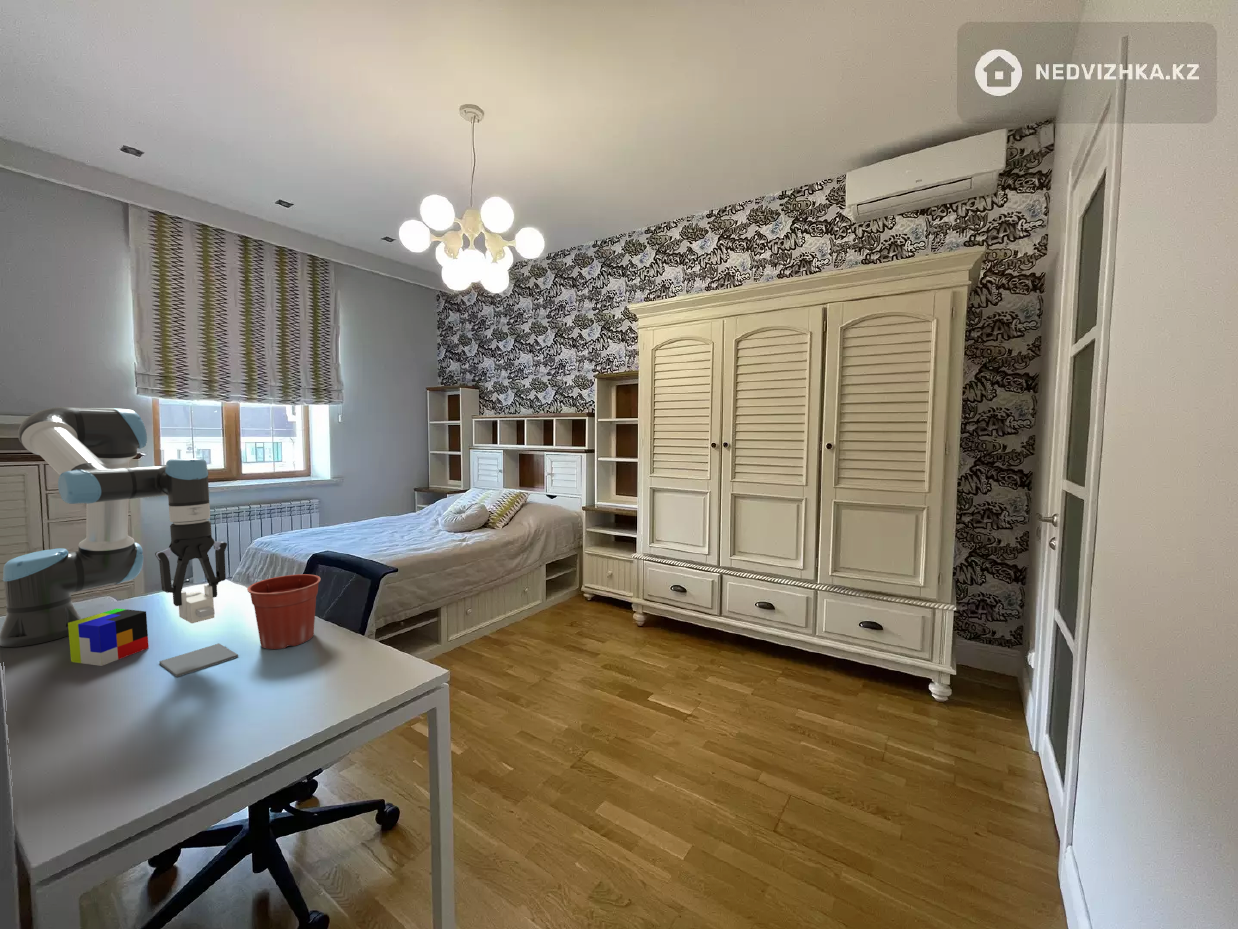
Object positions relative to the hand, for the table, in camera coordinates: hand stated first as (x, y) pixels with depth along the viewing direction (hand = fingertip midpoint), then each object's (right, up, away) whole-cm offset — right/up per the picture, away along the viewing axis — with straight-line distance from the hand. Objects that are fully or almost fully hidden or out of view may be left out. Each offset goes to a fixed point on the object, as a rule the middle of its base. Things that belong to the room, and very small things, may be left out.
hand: (196, 614), depth 121 cm
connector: (0, -1, 0) cm, 1 cm away
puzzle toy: (-26, -12, +4) cm, 28 cm away
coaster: (0, -12, +1) cm, 12 cm away
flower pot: (+14, -11, +13) cm, 22 cm away
